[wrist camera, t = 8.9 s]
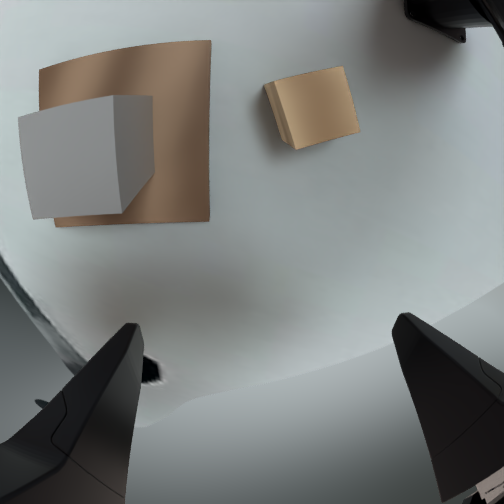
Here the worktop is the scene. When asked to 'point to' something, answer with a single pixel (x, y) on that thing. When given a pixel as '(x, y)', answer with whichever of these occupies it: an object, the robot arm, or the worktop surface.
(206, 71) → the walnut board
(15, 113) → the worktop surface
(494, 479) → the robot arm
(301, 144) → the oak cube
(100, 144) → the slate block
